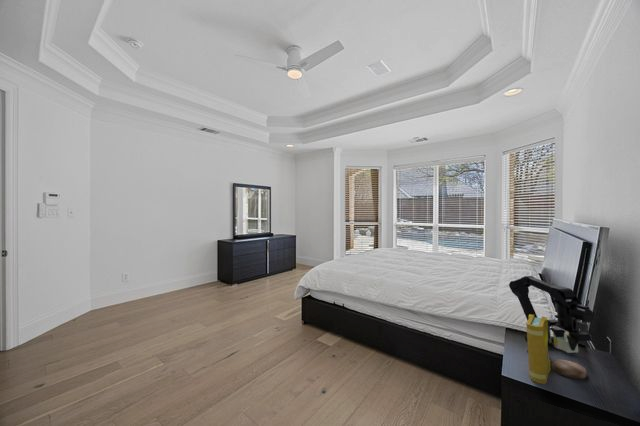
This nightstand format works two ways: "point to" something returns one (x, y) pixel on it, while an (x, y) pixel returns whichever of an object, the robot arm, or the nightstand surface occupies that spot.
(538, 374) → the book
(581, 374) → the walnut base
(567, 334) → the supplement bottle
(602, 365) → the nightstand surface
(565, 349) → the sage block
